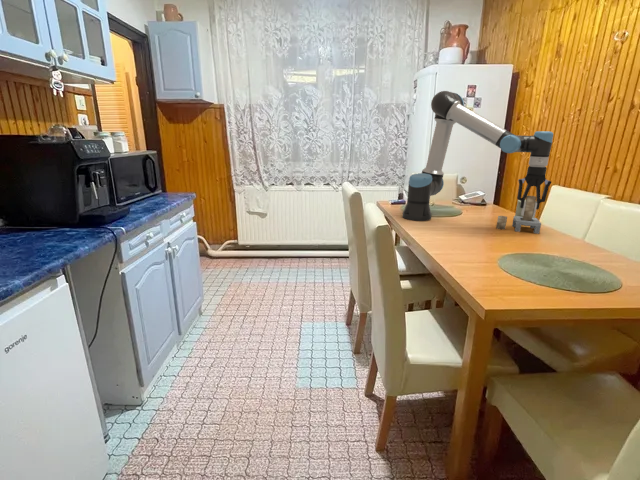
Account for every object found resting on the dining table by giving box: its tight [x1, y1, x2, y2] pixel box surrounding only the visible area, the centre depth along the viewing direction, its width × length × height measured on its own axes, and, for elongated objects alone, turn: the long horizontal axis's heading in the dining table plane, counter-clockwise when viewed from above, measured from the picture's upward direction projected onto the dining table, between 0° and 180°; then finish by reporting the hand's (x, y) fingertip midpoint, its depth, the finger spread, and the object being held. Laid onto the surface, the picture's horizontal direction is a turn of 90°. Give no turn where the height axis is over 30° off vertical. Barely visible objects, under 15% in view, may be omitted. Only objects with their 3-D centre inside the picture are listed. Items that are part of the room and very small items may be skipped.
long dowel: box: [522, 195, 537, 227], centre depth 167 cm, size 4×4×14 cm
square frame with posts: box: [511, 215, 542, 235], centre depth 169 cm, size 10×12×5 cm
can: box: [514, 199, 535, 218], centre depth 181 cm, size 9×9×12 cm
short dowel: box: [495, 215, 508, 231], centre depth 170 cm, size 4×4×6 cm
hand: (527, 215), depth 167 cm, fingers closed on long dowel, 4 cm apart
